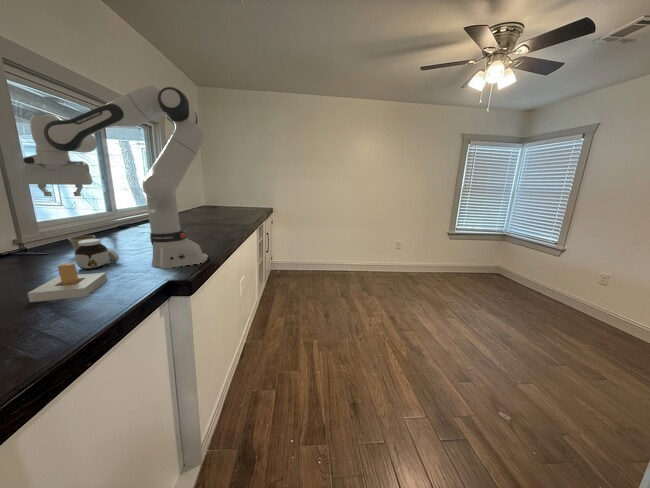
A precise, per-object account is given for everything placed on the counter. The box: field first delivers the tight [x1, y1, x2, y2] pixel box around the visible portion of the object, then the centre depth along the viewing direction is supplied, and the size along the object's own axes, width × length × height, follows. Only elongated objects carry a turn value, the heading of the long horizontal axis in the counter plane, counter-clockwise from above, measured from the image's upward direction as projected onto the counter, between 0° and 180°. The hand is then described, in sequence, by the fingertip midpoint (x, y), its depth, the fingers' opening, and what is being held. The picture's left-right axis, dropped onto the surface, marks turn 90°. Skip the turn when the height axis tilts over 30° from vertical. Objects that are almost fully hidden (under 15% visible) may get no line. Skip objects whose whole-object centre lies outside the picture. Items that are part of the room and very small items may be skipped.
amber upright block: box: [57, 262, 79, 286], centre depth 86 cm, size 4×4×9 cm
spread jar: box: [74, 238, 120, 271], centre depth 108 cm, size 12×11×12 cm
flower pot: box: [67, 235, 96, 252], centre depth 123 cm, size 9×9×9 cm
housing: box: [27, 272, 108, 303], centre depth 86 cm, size 14×14×3 cm
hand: (63, 196), depth 103 cm, fingers open, 8 cm apart
